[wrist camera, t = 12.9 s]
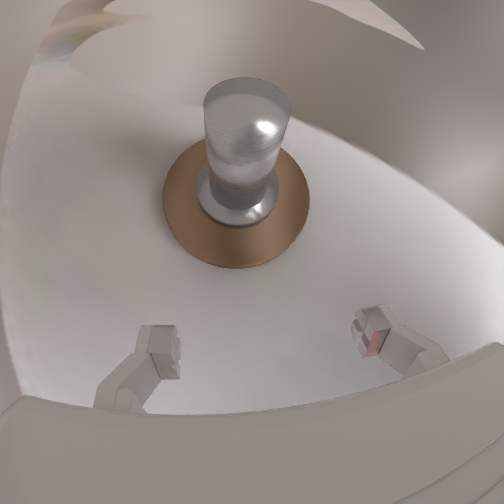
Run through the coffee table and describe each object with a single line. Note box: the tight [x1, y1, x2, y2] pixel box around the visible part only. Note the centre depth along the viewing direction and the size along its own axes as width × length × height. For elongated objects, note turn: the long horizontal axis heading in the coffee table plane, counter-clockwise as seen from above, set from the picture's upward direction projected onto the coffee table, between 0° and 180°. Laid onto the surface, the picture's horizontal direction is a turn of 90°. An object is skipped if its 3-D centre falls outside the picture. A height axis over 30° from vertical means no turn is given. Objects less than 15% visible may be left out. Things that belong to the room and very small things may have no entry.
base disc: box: [163, 139, 309, 268], centre depth 23 cm, size 12×12×2 cm
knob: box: [196, 77, 291, 229], centre depth 17 cm, size 6×6×10 cm
